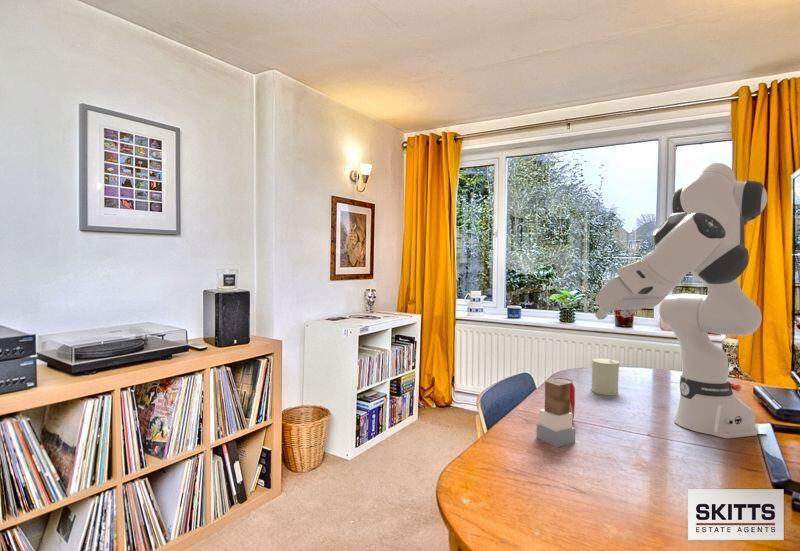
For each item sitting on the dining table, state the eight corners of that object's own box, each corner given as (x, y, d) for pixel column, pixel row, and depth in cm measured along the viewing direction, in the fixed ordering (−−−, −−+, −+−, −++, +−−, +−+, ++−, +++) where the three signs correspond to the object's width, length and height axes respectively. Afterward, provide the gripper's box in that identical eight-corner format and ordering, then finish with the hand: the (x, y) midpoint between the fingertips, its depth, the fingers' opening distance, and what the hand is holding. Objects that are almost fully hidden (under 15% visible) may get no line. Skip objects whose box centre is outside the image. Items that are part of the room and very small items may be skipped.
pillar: (555, 407, 123) (556, 379, 122) (569, 412, 119) (570, 383, 119) (544, 410, 120) (545, 381, 120) (558, 415, 117) (559, 385, 116)
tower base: (554, 433, 125) (554, 419, 124) (575, 443, 118) (575, 428, 118) (536, 438, 121) (536, 424, 121) (556, 448, 115) (557, 433, 115)
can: (608, 396, 158) (609, 363, 158) (585, 390, 166) (586, 358, 166) (623, 393, 163) (624, 360, 162) (601, 386, 171) (602, 355, 170)
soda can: (576, 424, 131) (577, 384, 131) (551, 422, 133) (552, 382, 132) (571, 416, 138) (573, 378, 138) (548, 414, 140) (549, 376, 139)
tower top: (555, 420, 124) (555, 406, 124) (572, 428, 118) (572, 413, 118) (538, 424, 121) (539, 409, 121) (555, 431, 116) (556, 416, 116)
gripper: (669, 267, 105) (629, 304, 114) (615, 267, 95) (575, 307, 103) (688, 287, 101) (645, 324, 110) (634, 289, 91) (591, 329, 100)
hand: (611, 316), depth 107 cm, fingers open, 8 cm apart
